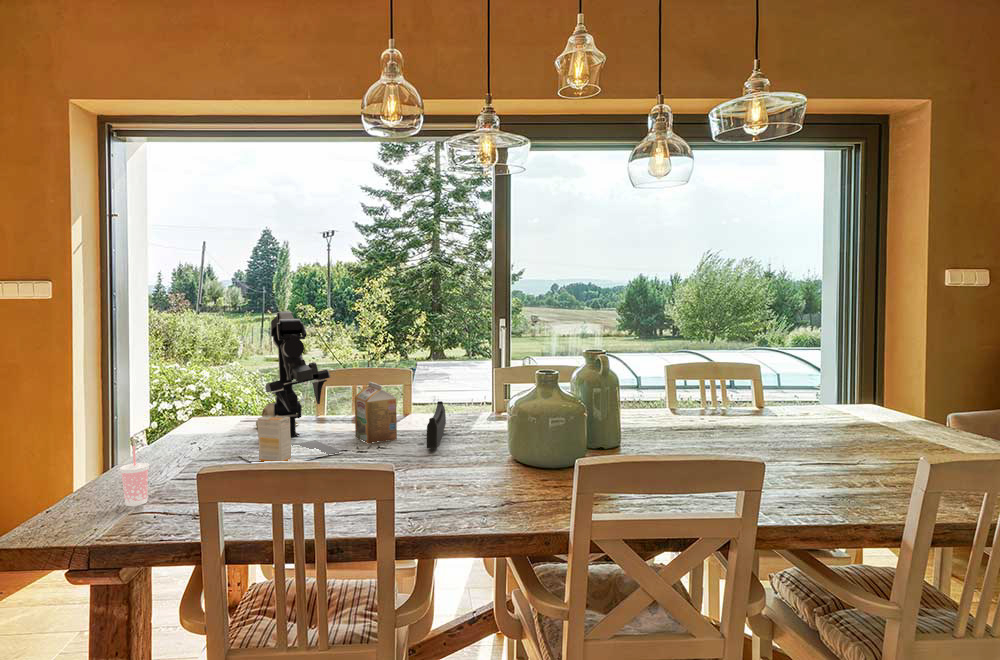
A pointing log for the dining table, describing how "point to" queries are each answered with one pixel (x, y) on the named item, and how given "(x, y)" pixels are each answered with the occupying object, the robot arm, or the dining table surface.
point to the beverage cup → (135, 482)
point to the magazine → (436, 427)
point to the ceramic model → (268, 411)
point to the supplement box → (274, 438)
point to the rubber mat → (316, 445)
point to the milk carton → (375, 414)
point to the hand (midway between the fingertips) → (304, 407)
